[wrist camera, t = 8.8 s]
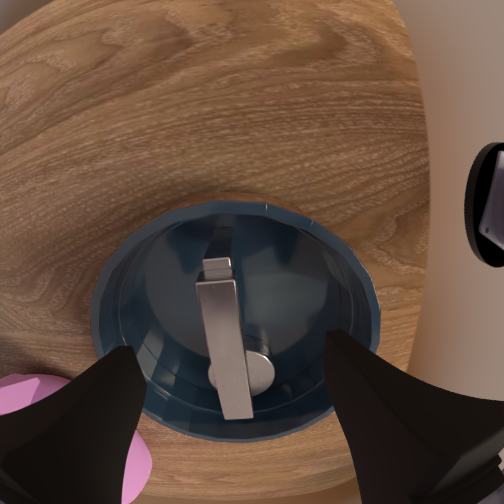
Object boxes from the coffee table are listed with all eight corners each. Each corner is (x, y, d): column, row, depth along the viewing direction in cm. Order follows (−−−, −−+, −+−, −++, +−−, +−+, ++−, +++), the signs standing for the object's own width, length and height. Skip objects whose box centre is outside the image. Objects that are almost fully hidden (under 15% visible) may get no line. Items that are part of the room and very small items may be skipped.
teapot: (190, 479, 23) (181, 566, 12) (84, 466, 23) (61, 532, 12) (89, 323, 17) (-4, 452, 5) (-15, 331, 17) (-81, 398, 5)
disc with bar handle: (273, 379, 18) (285, 451, 12) (215, 383, 18) (209, 455, 12) (262, 223, 15) (276, 263, 9) (186, 232, 15) (152, 275, 9)
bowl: (385, 239, 16) (427, 264, 11) (296, 408, 19) (305, 452, 15) (150, 159, 14) (115, 157, 10) (114, 361, 18) (91, 403, 13)
